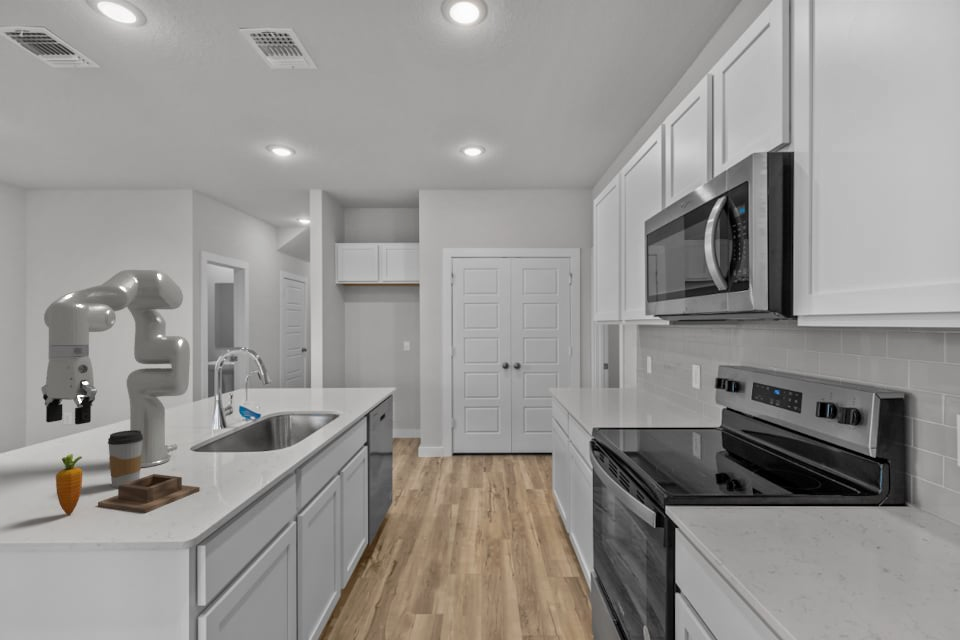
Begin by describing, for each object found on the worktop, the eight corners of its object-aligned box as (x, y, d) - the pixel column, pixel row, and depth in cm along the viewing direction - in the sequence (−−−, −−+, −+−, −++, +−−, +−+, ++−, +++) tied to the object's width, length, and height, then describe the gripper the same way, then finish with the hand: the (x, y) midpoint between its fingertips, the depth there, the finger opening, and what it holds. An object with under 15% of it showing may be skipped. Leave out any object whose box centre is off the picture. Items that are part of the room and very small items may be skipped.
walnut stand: (155, 485, 138) (155, 469, 138) (199, 490, 133) (199, 474, 133) (97, 506, 122) (97, 488, 122) (145, 513, 118) (145, 495, 118)
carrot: (66, 511, 119) (66, 451, 119) (87, 510, 120) (87, 451, 120) (50, 519, 114) (50, 457, 114) (72, 518, 115) (72, 456, 115)
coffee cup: (150, 481, 141) (150, 431, 141) (120, 491, 133) (120, 437, 133) (130, 478, 144) (130, 428, 144) (100, 487, 136) (100, 435, 136)
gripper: (110, 352, 118) (110, 421, 118) (61, 351, 123) (60, 417, 123) (77, 354, 111) (77, 427, 111) (26, 353, 116) (25, 423, 115)
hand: (68, 422), depth 117 cm, fingers open, 9 cm apart
